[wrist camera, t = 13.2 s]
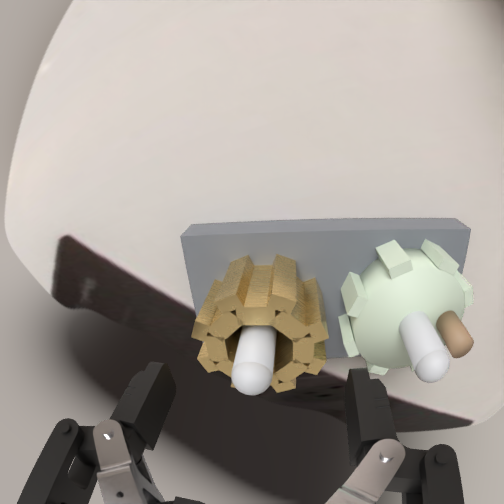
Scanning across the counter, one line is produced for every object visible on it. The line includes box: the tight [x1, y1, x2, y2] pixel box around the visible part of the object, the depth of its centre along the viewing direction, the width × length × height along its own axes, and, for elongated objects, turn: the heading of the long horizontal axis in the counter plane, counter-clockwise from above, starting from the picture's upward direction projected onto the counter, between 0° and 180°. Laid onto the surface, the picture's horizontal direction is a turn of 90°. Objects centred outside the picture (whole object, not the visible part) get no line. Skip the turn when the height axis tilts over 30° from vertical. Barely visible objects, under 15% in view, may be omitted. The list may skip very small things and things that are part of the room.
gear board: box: [180, 218, 474, 395], centre depth 14 cm, size 17×9×8 cm, turn 95°
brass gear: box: [191, 254, 329, 393], centre depth 15 cm, size 6×6×4 cm
